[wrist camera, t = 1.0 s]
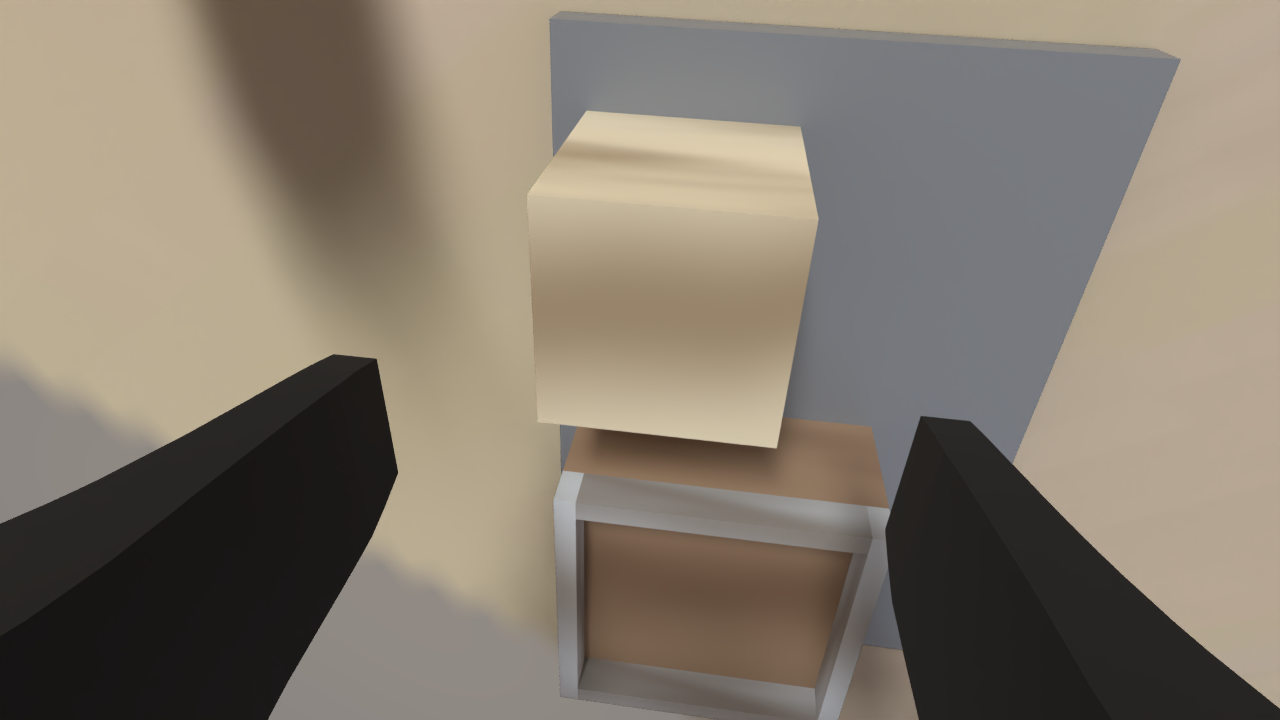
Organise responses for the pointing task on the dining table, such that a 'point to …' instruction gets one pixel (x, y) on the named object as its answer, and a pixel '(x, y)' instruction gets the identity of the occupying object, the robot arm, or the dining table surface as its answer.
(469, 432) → the dining table surface
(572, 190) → the maple block
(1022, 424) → the board
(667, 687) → the walnut plinth
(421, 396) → the dining table surface
